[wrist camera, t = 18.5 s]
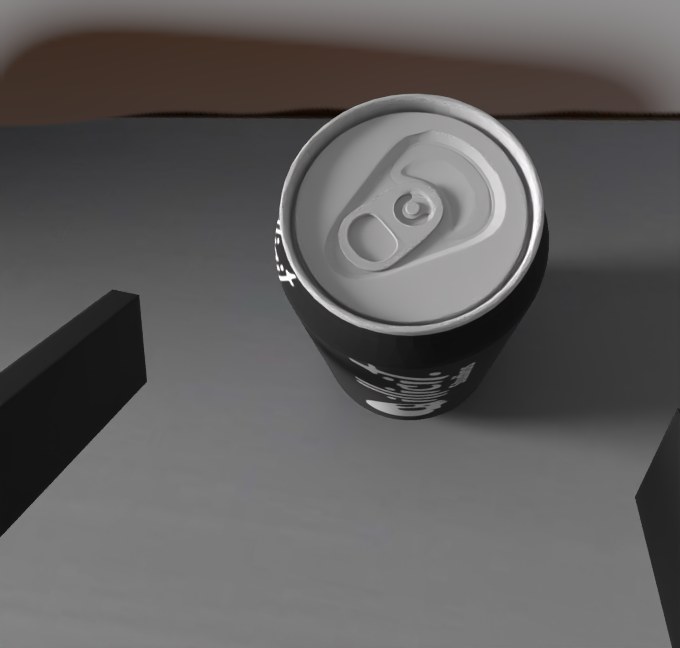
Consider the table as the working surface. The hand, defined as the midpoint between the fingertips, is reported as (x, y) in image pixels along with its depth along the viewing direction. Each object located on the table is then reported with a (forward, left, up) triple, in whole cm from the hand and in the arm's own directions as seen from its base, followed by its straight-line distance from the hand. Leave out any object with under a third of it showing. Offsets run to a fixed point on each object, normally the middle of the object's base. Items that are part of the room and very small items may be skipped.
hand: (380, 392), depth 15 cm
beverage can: (-2, +3, -9) cm, 10 cm away
